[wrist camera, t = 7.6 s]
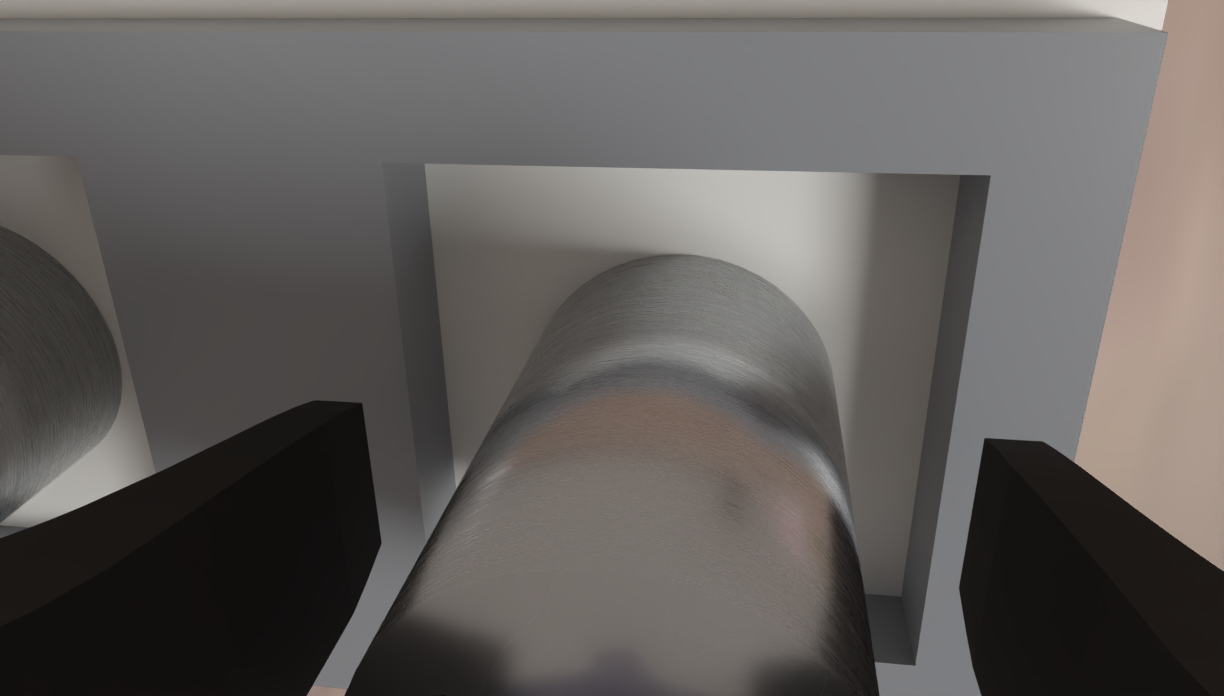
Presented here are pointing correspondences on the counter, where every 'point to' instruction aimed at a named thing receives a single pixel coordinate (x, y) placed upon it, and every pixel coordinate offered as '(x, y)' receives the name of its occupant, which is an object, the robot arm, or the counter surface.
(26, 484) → the cylinder
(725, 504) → the cylinder
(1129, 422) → the counter surface
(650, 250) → the grey rectangular tray
